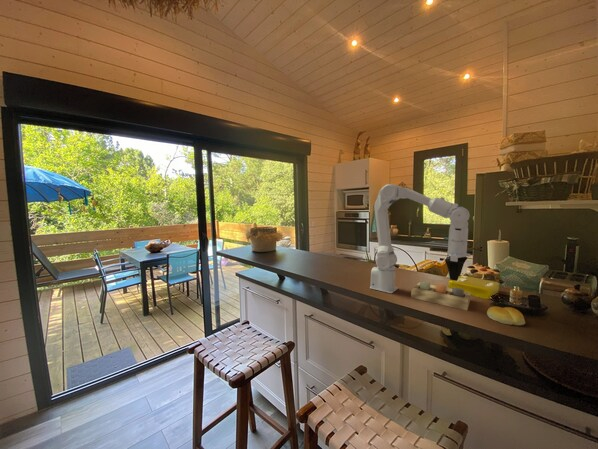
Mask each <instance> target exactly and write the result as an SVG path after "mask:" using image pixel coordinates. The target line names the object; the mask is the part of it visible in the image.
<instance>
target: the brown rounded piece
mask: <svg viewBox="0 0 598 449" xmlns="http://www.w3.org/2000/svg"><path fill="white" fill-rule="evenodd" d="M435 286H436V287H435V292H438V293H443V294H446V288H447V286H446V285H444V284H435Z"/></svg>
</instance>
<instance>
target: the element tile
mask: <svg viewBox="0 0 598 449" xmlns="http://www.w3.org/2000/svg"><path fill="white" fill-rule="evenodd" d="M447 288H450V289H452V288H460V289H463V290H464V291H466V292H471V295H470V297H471V296H472V297H476V298H479V297H480V298H481V299H484V300H491V299H490V297H491V296H492V295H494V294H496V293H498V294H499V288H500V283H499V282H498V281H494V280H488V279H483V278H480V277H479V278H477V277H473V276H467V275H460V276H459V277H458V280H457V281H454V280H450V279H449V280H448V287H447ZM496 295H497V294H496Z"/></svg>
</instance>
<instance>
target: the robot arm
mask: <svg viewBox="0 0 598 449" xmlns="http://www.w3.org/2000/svg"><path fill="white" fill-rule="evenodd" d="M400 199H409V200H410V201H414V202H416V203H419V204H420V205H424V206H426V207H427V208H428V211H429V212H431V213H433V214H435V215H437V216H440V217H442V218H445V219H448V218H449V221H450V223H449V225H450V226H449V228H448V241H447V251H446V254H447V255H448V257H449V259H447V258H446V259H445V260H444V262H445V264H446V266H447V269H448V276H449V277H448V278H449V280H454V281H457V280H458V277H459V276H460V275H461V274H462V271H463V268H464V265H465V262H467V260H468V257H471V253H468V240H469V222H468V221H469V219H470V216H471V215H470V211H469V210H468V209H467V208H465V207H464V206H459V204H458V203H452V202H450V201H447V200H445V199H446V198H445V197H443V196H440V197H438V196H437V197H433V198H431V197H428V196H426V195H424V194H422V193H419V192H418V191H415V190H413V189H411V188H407V187H404V186H399V185H396V184H393V183H387V184H384V186H382V187H381V189H380V190H378V195H377V197H376V200H375V202H374V205H373V207H374V216H375V225H376V235H377V243H378V249H377V251H376V255H377V256H376V258H375V265H376V266H373V267H372V268H371V271H370V286H369V289H371V290H374V291H375V290H376V291H380V292H384V293H388V294H393V293H395V291H397V290H398V289H399V287H397V286H395V285H396V266H395V265H396V264H397V262H398V257H397V254H396V253H395V248H394V247H393V245H392V240H391V239H392V238H391V229H390V220H389V212H388V209H389V208H390V206H392V204H393V203H395V202H396V201H398V200H400Z"/></svg>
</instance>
